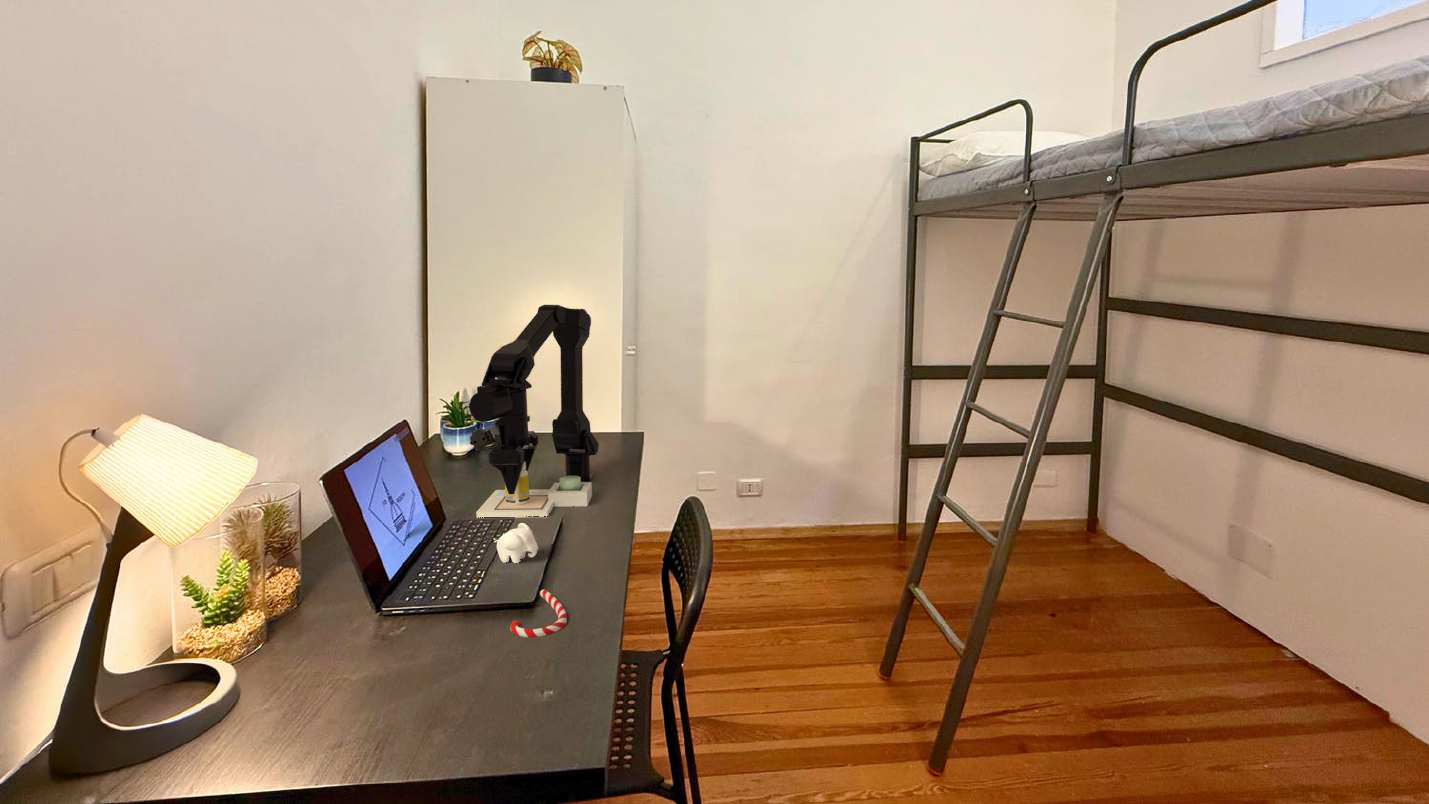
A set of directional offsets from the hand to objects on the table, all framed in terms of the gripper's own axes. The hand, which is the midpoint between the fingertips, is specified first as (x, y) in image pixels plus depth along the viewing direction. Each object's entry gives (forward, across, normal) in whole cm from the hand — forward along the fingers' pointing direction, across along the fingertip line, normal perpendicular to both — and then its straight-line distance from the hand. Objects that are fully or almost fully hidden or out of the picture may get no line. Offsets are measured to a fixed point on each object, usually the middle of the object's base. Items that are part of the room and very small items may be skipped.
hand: (516, 487), depth 167 cm
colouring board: (+4, -2, 0) cm, 5 cm away
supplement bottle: (+3, 0, 0) cm, 3 cm away
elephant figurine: (+5, +30, +6) cm, 31 cm away
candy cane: (+5, +51, +14) cm, 54 cm away
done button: (+2, -5, +10) cm, 12 cm away
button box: (+4, -5, +10) cm, 12 cm away
